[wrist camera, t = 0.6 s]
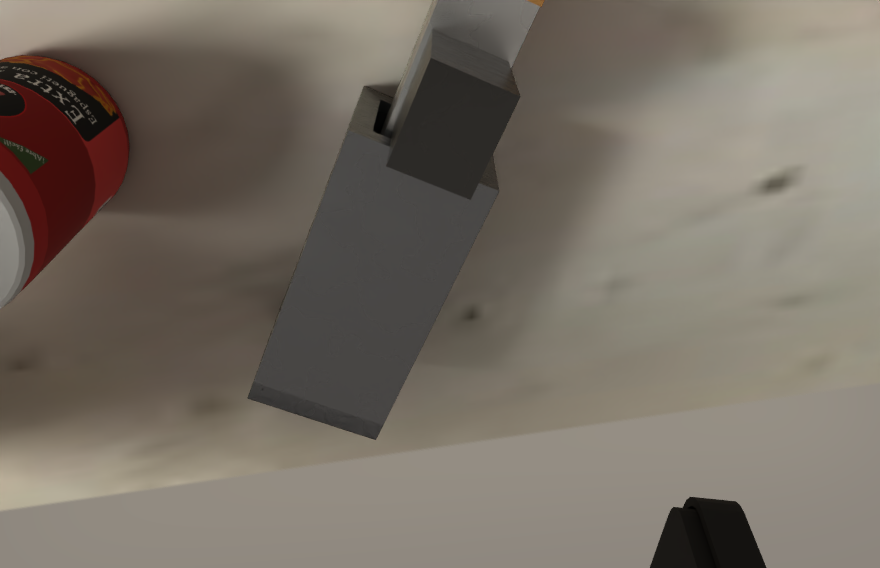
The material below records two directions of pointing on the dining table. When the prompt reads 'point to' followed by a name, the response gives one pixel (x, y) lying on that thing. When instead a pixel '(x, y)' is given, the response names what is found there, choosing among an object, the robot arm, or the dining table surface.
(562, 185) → the dining table surface
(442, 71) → the steel bar
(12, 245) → the canned food
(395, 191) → the sleeve
